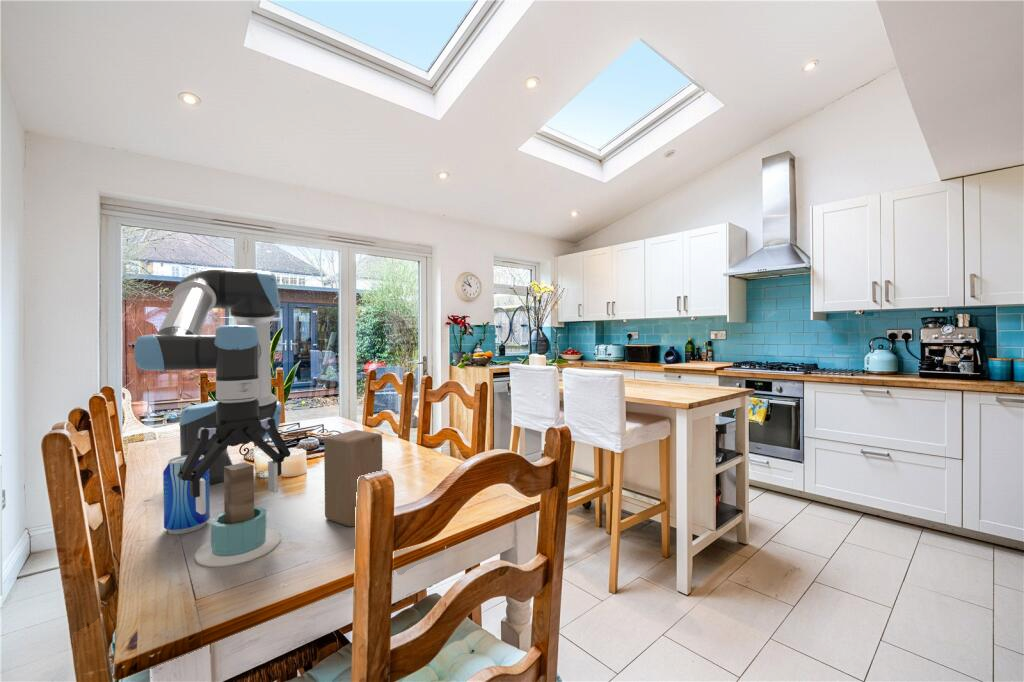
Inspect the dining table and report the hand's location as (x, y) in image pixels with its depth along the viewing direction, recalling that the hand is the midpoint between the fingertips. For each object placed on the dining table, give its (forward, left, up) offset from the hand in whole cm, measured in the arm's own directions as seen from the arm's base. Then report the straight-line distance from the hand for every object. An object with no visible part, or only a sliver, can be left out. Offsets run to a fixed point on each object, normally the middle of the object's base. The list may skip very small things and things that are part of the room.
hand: (239, 501), depth 89 cm
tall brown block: (0, 0, -8) cm, 8 cm away
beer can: (-20, -3, -10) cm, 23 cm away
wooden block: (+6, +23, -10) cm, 26 cm away
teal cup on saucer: (0, 0, -10) cm, 10 cm away
